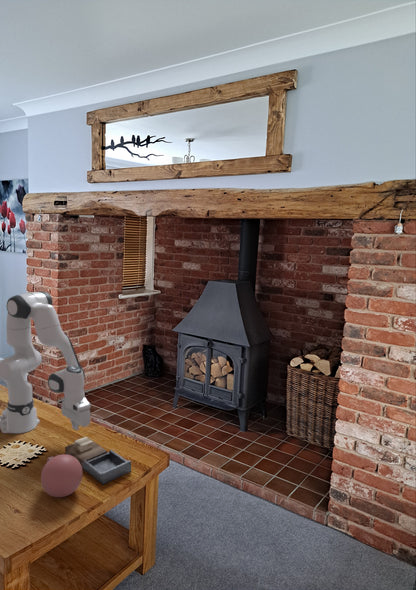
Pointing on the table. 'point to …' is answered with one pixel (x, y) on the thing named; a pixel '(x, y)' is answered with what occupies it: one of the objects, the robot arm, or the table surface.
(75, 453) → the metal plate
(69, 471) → the balloon
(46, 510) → the table surface
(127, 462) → the box
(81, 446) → the block
